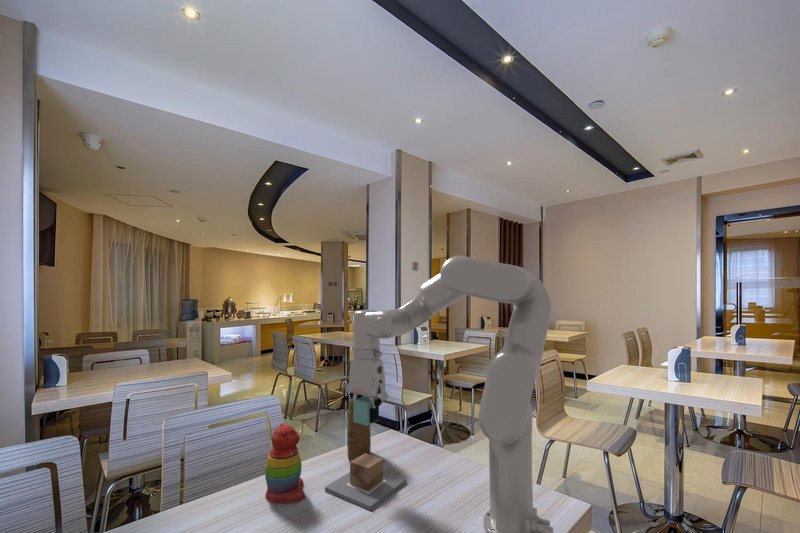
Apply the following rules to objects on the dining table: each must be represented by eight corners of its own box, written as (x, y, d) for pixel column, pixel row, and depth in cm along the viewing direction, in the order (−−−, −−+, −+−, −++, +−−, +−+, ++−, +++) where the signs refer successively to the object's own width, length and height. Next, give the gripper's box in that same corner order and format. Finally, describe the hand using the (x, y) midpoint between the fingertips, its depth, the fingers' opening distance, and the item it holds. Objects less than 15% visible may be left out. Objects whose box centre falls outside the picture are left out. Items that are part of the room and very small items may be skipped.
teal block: (378, 420, 105) (378, 398, 105) (367, 425, 101) (367, 403, 101) (365, 416, 108) (365, 395, 108) (353, 422, 104) (353, 400, 104)
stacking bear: (305, 501, 96) (306, 430, 97) (263, 508, 93) (265, 435, 94) (302, 480, 107) (303, 417, 108) (265, 486, 104) (266, 421, 105)
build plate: (406, 482, 105) (406, 478, 105) (370, 510, 92) (370, 506, 92) (363, 467, 114) (363, 463, 114) (324, 490, 101) (324, 486, 101)
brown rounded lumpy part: (370, 463, 117) (370, 398, 118) (346, 464, 116) (346, 399, 117) (370, 448, 128) (370, 389, 129) (348, 449, 127) (348, 390, 128)
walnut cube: (383, 480, 104) (383, 458, 104) (368, 491, 99) (368, 468, 99) (365, 474, 108) (365, 453, 108) (350, 484, 102) (350, 461, 103)
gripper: (398, 354, 104) (398, 421, 103) (352, 349, 113) (352, 410, 112) (382, 359, 97) (382, 430, 96) (335, 352, 107) (334, 417, 106)
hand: (366, 418), depth 104 cm, fingers closed on teal block, 4 cm apart
